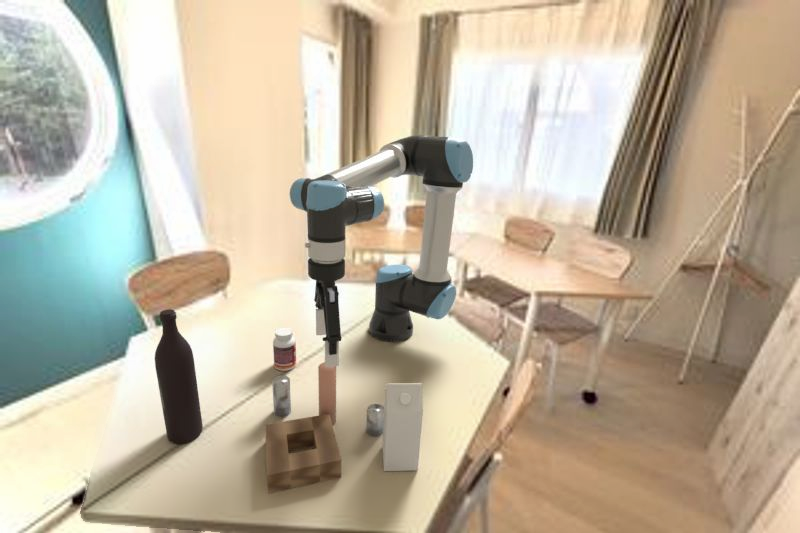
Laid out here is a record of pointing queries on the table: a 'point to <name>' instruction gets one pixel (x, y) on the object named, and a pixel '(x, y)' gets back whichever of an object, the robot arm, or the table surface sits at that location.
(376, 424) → the short pin
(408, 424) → the milk carton
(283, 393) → the medium pin
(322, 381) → the long pin
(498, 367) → the table surface
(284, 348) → the pill bottle
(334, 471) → the hole block
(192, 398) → the wine bottle
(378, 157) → the robot arm
